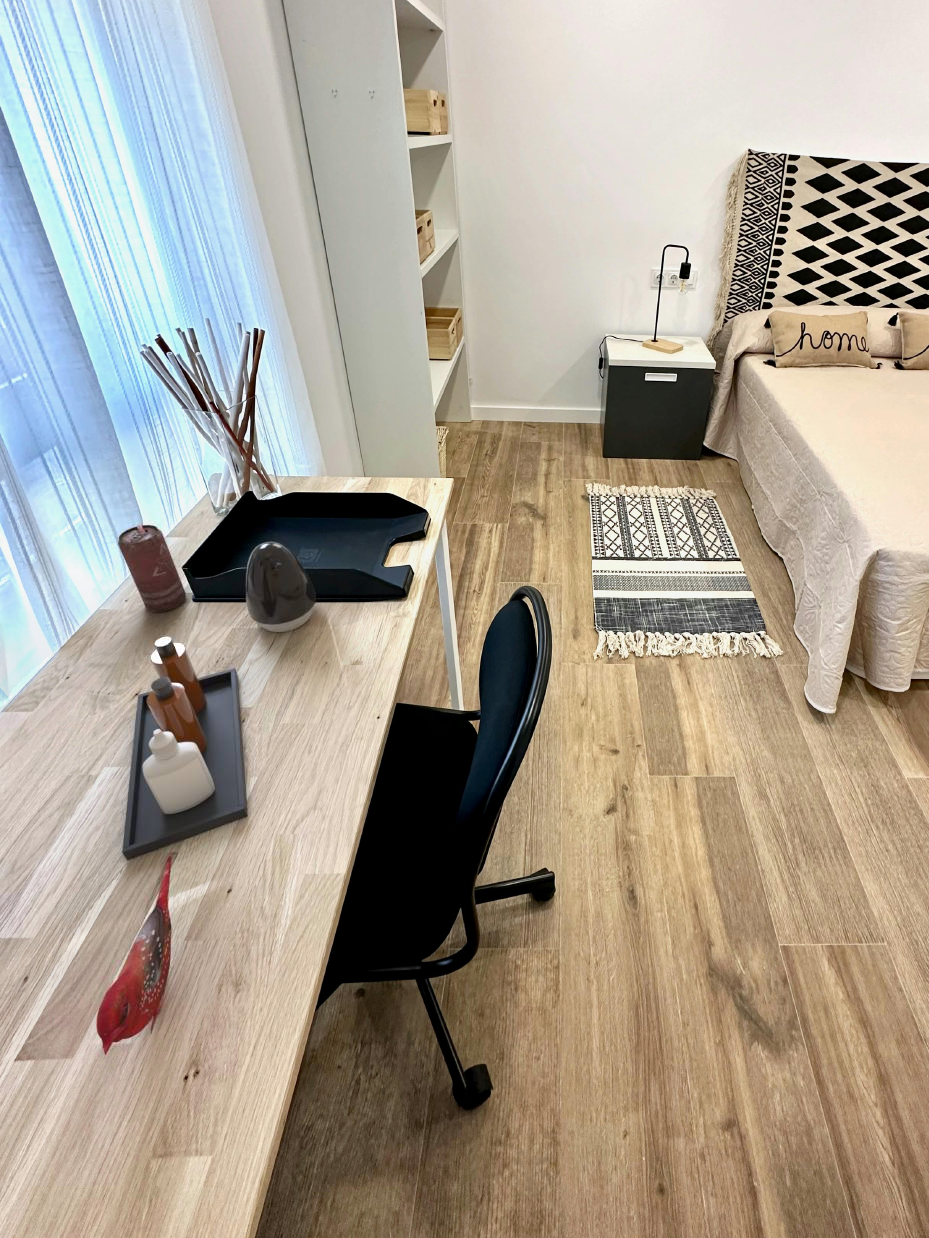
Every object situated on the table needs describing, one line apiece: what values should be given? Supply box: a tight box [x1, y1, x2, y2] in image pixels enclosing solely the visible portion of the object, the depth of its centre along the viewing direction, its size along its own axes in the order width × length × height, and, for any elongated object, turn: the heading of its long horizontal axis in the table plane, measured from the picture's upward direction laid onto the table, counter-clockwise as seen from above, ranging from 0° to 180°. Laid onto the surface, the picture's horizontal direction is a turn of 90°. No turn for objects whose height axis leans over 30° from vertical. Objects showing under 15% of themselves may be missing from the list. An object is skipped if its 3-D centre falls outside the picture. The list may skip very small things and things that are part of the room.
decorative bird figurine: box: [95, 855, 173, 1056], centre depth 58 cm, size 3×18×10 cm, turn 15°
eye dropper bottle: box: [142, 729, 215, 814], centre depth 73 cm, size 4×6×12 cm
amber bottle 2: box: [147, 677, 207, 754], centre depth 79 cm, size 4×4×12 cm
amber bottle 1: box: [150, 636, 207, 714], centre depth 85 cm, size 4×4×12 cm
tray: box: [121, 667, 249, 861], centre depth 82 cm, size 25×12×2 cm, turn 27°
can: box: [117, 524, 187, 613], centre depth 104 cm, size 6×6×14 cm
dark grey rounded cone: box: [244, 541, 317, 633], centre depth 101 cm, size 10×10×15 cm
